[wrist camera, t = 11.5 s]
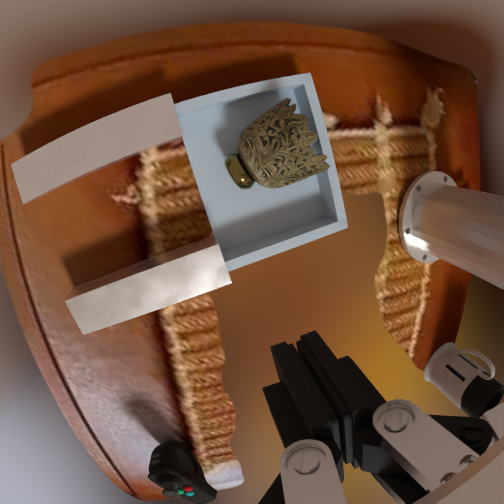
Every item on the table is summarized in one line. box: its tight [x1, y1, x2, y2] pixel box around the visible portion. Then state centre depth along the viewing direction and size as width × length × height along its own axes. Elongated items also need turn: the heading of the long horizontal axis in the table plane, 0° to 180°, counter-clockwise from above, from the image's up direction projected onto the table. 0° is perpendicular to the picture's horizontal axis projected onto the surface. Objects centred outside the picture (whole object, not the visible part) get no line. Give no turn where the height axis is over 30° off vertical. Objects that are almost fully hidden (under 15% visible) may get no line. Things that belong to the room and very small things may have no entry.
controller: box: [148, 441, 217, 504], centre depth 34 cm, size 4×12×10 cm, turn 28°
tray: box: [174, 73, 348, 271], centre depth 29 cm, size 13×16×3 cm
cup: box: [224, 98, 330, 190], centre depth 27 cm, size 8×7×8 cm
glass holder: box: [424, 342, 504, 418], centre depth 40 cm, size 9×14×15 cm, turn 23°
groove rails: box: [11, 93, 232, 335], centre depth 27 cm, size 16×18×4 cm
